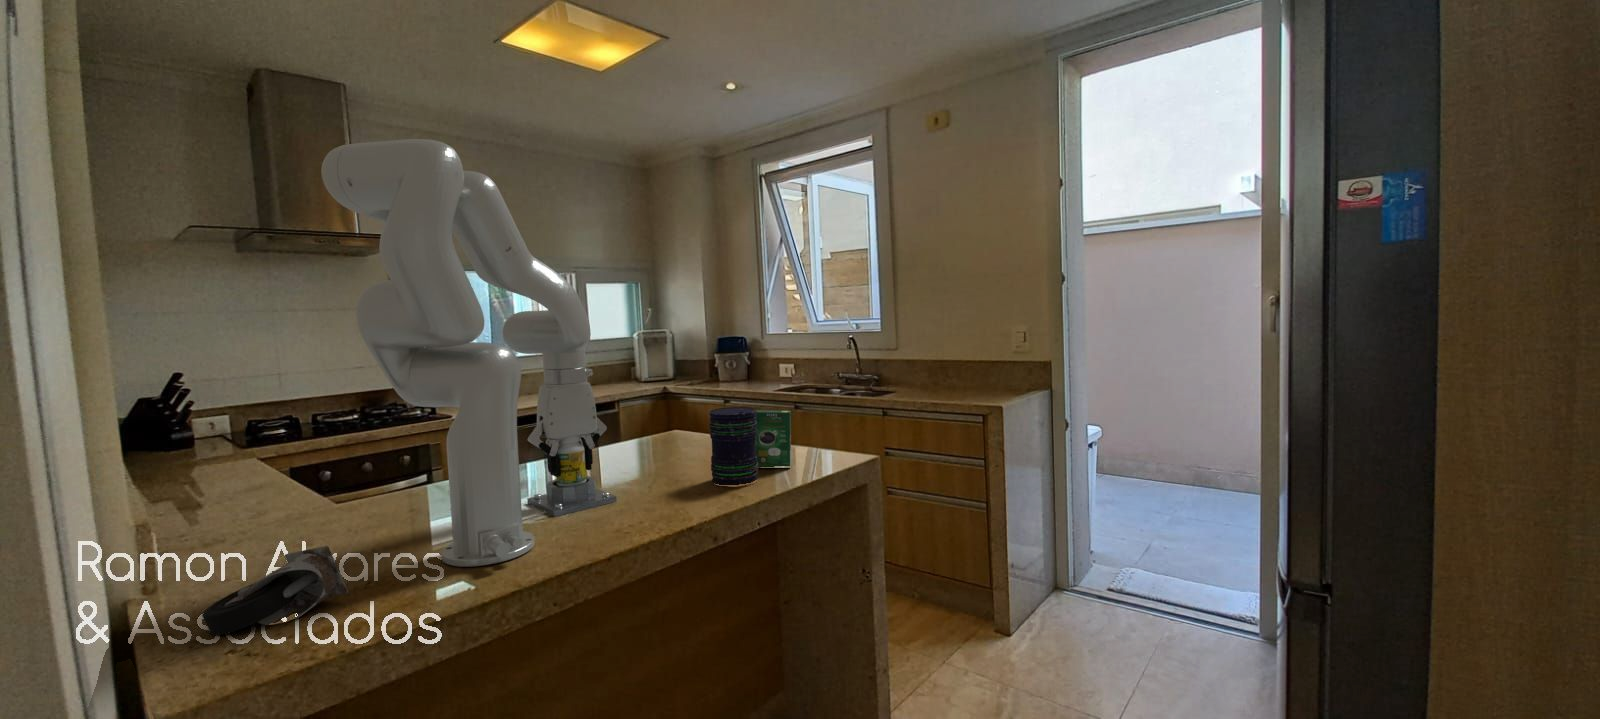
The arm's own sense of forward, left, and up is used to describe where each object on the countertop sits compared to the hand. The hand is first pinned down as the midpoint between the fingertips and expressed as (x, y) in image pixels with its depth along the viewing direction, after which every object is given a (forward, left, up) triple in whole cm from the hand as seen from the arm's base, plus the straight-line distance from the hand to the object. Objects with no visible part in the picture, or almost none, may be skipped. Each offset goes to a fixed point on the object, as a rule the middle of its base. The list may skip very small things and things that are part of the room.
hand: (571, 471), depth 121 cm
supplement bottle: (0, 0, -3) cm, 3 cm away
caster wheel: (-18, +46, -6) cm, 50 cm away
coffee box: (-10, -43, -6) cm, 44 cm away
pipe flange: (0, 0, -6) cm, 6 cm away
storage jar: (-12, -30, -6) cm, 33 cm away
